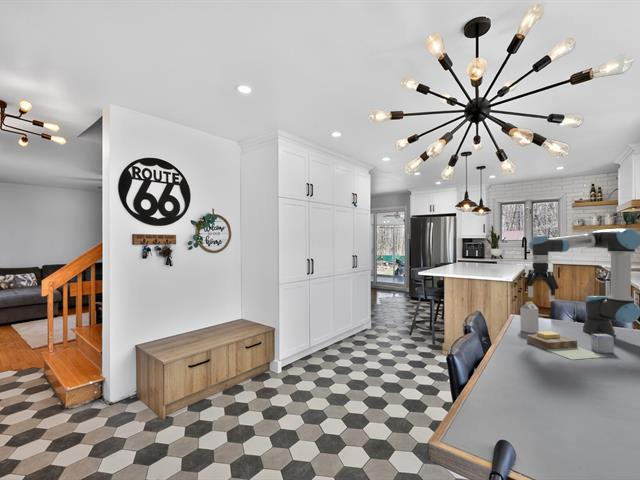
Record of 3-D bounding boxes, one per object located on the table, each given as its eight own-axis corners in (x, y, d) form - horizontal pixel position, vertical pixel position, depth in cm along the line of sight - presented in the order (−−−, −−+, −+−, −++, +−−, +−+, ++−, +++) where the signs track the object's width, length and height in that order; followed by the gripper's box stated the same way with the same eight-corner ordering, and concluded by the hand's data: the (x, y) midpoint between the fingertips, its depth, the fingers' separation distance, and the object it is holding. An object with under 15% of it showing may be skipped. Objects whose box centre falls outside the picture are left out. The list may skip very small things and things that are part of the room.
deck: (554, 340, 184) (553, 333, 184) (577, 347, 170) (577, 340, 170) (527, 341, 181) (526, 335, 181) (548, 350, 167) (548, 342, 167)
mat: (578, 347, 170) (578, 347, 170) (606, 357, 156) (606, 356, 156) (546, 350, 167) (546, 349, 167) (571, 360, 153) (571, 359, 153)
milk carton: (520, 330, 203) (520, 301, 203) (527, 329, 206) (526, 300, 206) (531, 333, 197) (531, 303, 197) (538, 332, 200) (538, 302, 200)
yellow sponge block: (550, 334, 181) (550, 331, 181) (559, 337, 175) (559, 334, 175) (536, 335, 179) (536, 332, 179) (545, 338, 173) (545, 335, 173)
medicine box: (607, 350, 166) (606, 333, 166) (614, 353, 161) (613, 336, 161) (591, 349, 167) (590, 333, 167) (597, 352, 162) (597, 336, 162)
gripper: (517, 261, 193) (517, 295, 193) (555, 263, 168) (555, 303, 168) (527, 260, 194) (528, 295, 194) (566, 263, 170) (567, 302, 170)
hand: (540, 299), depth 181 cm, fingers open, 13 cm apart
